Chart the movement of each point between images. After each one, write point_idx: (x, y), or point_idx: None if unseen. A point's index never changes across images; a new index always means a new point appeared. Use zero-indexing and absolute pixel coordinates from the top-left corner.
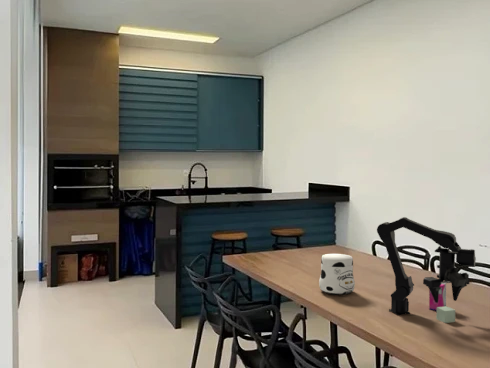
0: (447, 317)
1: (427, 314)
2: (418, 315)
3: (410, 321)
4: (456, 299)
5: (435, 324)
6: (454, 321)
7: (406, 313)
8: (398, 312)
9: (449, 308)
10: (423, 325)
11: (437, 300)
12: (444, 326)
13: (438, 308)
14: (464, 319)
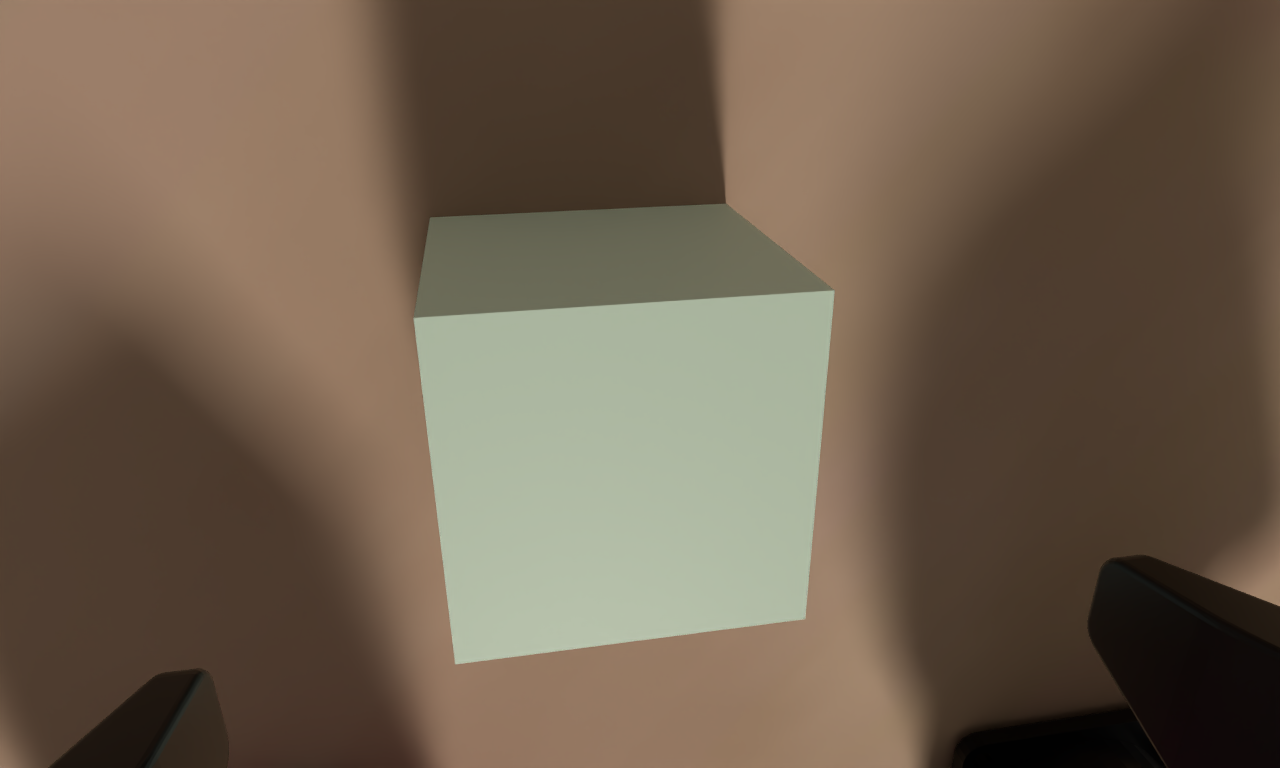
0: (686, 240)
1: (692, 688)
2: (884, 663)
3: (1249, 432)
4: (138, 704)
5: (984, 179)
6: (449, 217)
7: (1044, 730)
8: (1155, 759)
9: (512, 479)
10: (1238, 191)
11: (1221, 592)
12: (908, 5)
13: (805, 550)
14: (60, 307)
